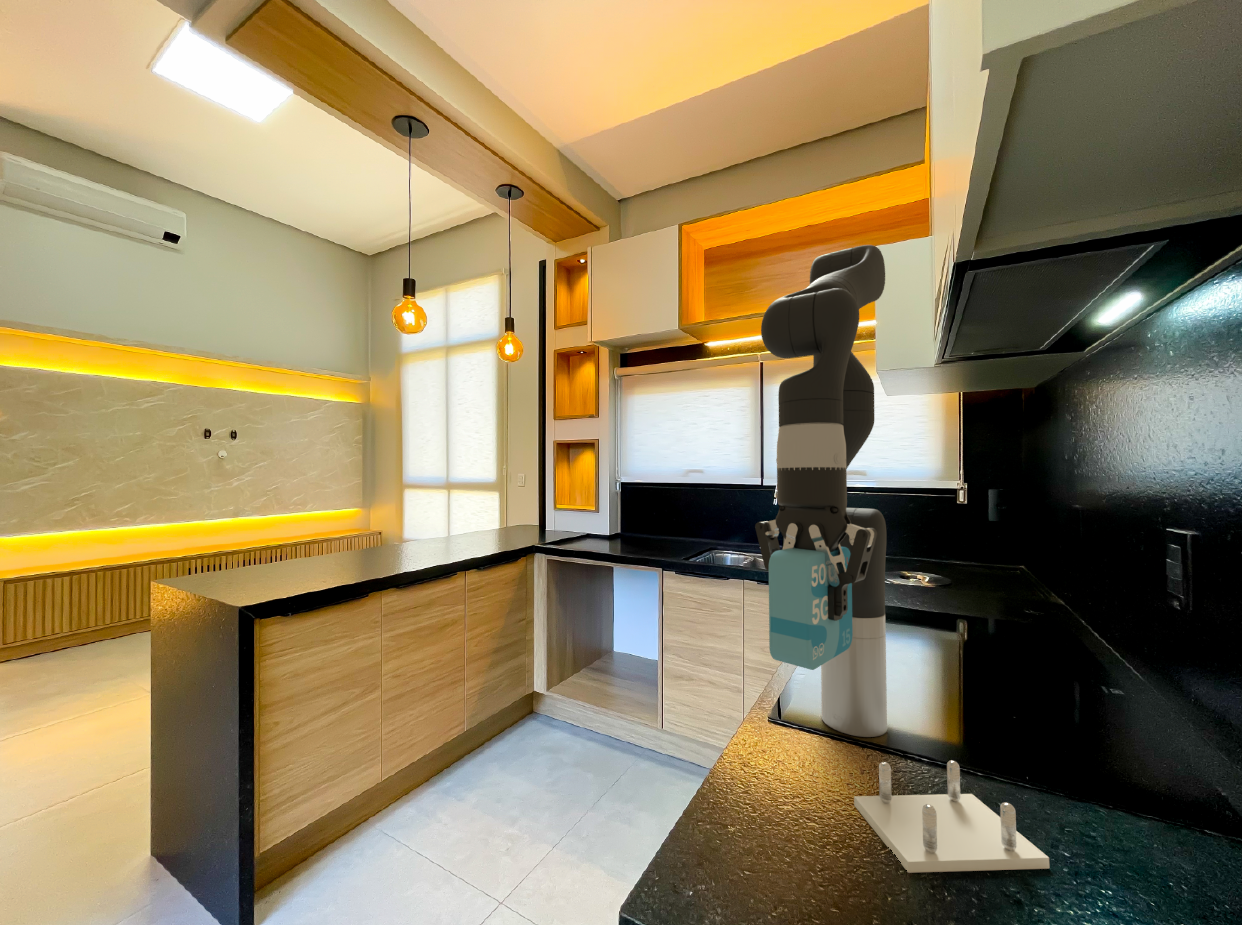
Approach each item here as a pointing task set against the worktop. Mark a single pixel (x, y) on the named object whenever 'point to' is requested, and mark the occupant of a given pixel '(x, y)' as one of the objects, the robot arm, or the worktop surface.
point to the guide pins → (954, 794)
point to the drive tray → (947, 834)
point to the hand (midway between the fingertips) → (812, 613)
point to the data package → (804, 609)
